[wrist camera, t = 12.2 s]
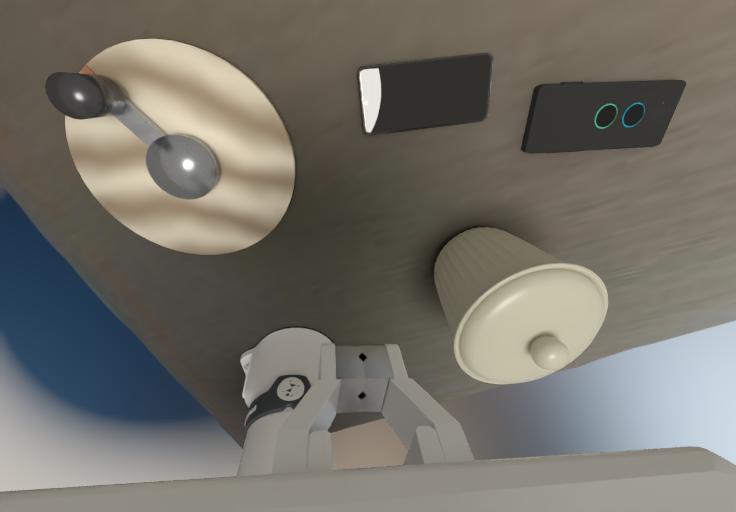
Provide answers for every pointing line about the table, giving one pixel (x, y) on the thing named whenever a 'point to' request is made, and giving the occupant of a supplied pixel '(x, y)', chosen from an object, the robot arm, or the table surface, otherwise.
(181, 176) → the crank handle
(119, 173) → the base
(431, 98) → the smartphone
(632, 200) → the table surface
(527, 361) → the canister
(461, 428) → the robot arm
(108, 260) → the table surface
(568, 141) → the smart home device
